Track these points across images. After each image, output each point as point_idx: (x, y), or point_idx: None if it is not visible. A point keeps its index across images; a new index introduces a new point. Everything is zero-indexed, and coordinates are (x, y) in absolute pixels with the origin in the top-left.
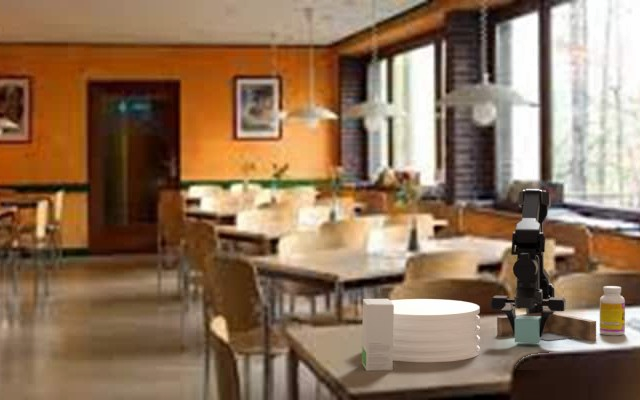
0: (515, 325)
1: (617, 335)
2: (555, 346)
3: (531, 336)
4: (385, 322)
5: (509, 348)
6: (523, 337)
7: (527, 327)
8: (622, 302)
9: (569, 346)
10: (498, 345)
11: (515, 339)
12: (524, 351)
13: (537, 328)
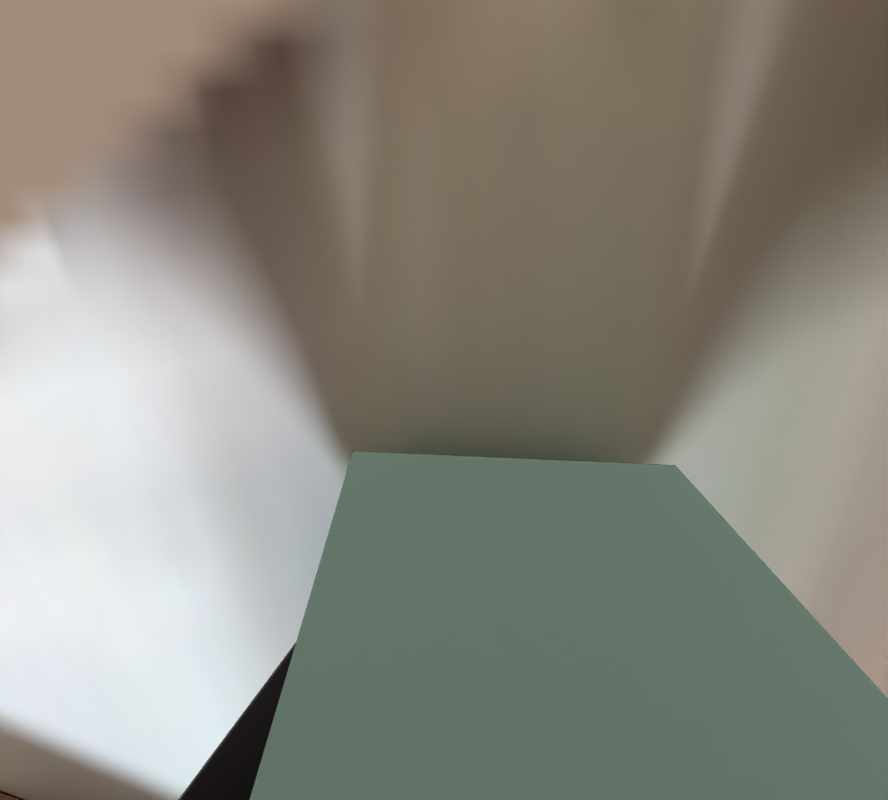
0: (874, 709)
1: None
2: (185, 527)
3: (454, 514)
4: None
5: (739, 297)
6: (581, 507)
7: (564, 662)
8: None
9: (38, 553)
10: (827, 465)
11: (685, 486)
12: (543, 67)
13: (320, 648)
